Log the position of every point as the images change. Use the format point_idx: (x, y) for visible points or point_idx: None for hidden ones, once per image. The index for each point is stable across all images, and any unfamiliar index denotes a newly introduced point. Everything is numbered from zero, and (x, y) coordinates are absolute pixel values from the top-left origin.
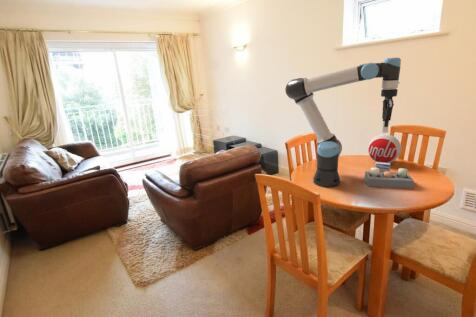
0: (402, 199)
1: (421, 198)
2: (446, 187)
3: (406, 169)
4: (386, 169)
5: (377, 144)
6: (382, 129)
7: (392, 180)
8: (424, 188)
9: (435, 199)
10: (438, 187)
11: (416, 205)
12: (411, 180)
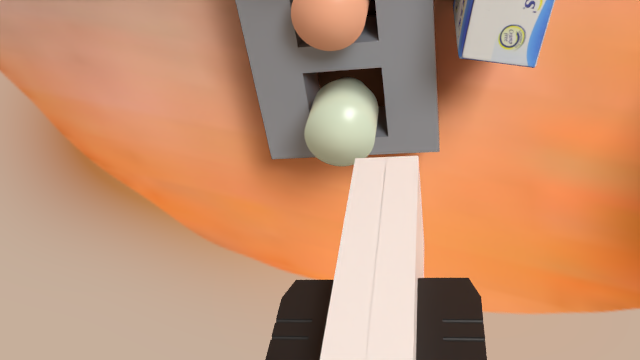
0: (78, 38)
1: (146, 138)
2: None
3: (349, 160)
4: (461, 9)
5: None
6: (368, 201)
7: (243, 23)
8: (308, 185)
9: (165, 194)
10: None
11: (36, 94)
12: (272, 146)
